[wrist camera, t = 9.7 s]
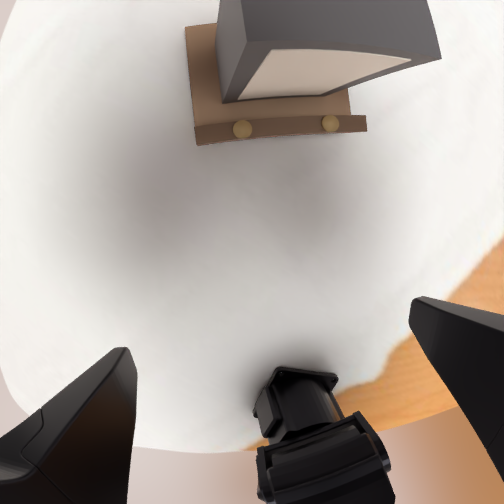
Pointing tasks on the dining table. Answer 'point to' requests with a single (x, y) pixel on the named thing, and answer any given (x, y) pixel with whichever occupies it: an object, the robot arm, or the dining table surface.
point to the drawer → (256, 103)
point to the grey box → (317, 45)
